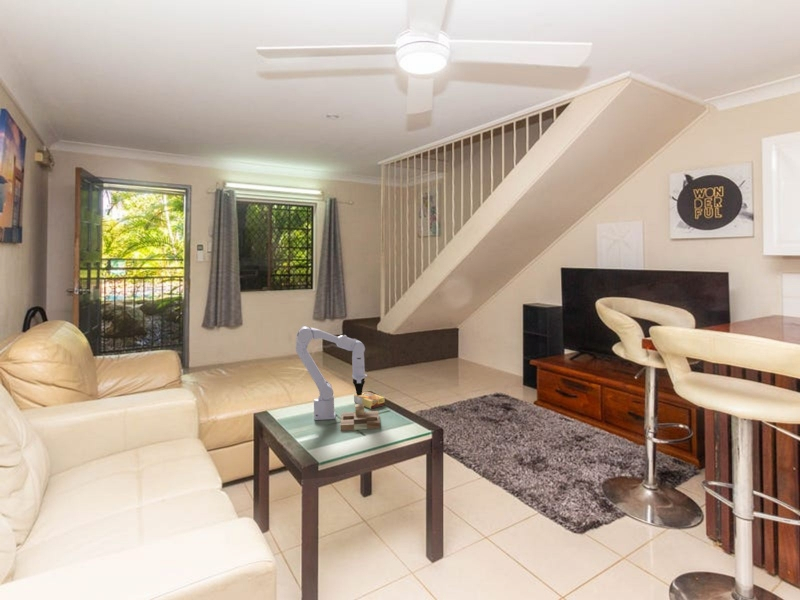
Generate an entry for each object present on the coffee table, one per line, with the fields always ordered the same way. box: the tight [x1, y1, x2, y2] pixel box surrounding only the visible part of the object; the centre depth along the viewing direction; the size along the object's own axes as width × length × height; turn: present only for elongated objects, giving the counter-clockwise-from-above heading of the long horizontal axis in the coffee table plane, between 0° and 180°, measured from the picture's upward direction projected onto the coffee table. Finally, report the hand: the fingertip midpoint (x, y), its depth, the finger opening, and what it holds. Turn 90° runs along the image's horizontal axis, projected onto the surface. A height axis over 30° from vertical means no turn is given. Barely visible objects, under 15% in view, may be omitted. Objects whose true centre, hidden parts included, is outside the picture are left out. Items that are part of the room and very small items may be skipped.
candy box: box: [353, 390, 386, 409], centre depth 218 cm, size 9×4×15 cm
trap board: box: [340, 410, 381, 431], centre depth 191 cm, size 16×17×4 cm
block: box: [354, 403, 365, 415], centre depth 197 cm, size 4×4×4 cm
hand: (359, 394), depth 203 cm, fingers open, 2 cm apart
